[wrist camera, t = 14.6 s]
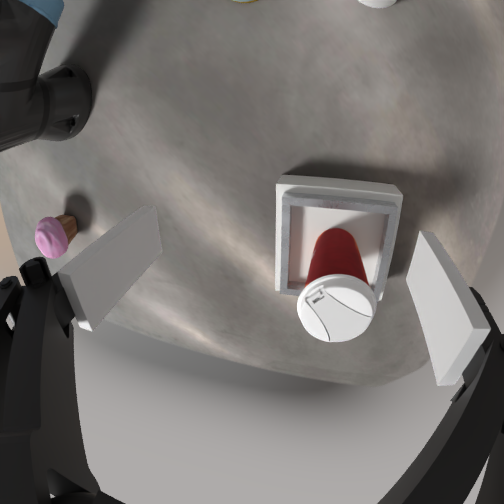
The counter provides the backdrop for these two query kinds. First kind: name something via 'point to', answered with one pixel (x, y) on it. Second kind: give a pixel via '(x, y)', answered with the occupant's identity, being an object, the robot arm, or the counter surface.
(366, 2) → the cylindrical container
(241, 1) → the bottle
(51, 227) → the cupcake
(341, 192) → the square tray
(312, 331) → the paper cup
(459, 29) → the counter surface
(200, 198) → the counter surface
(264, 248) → the counter surface
